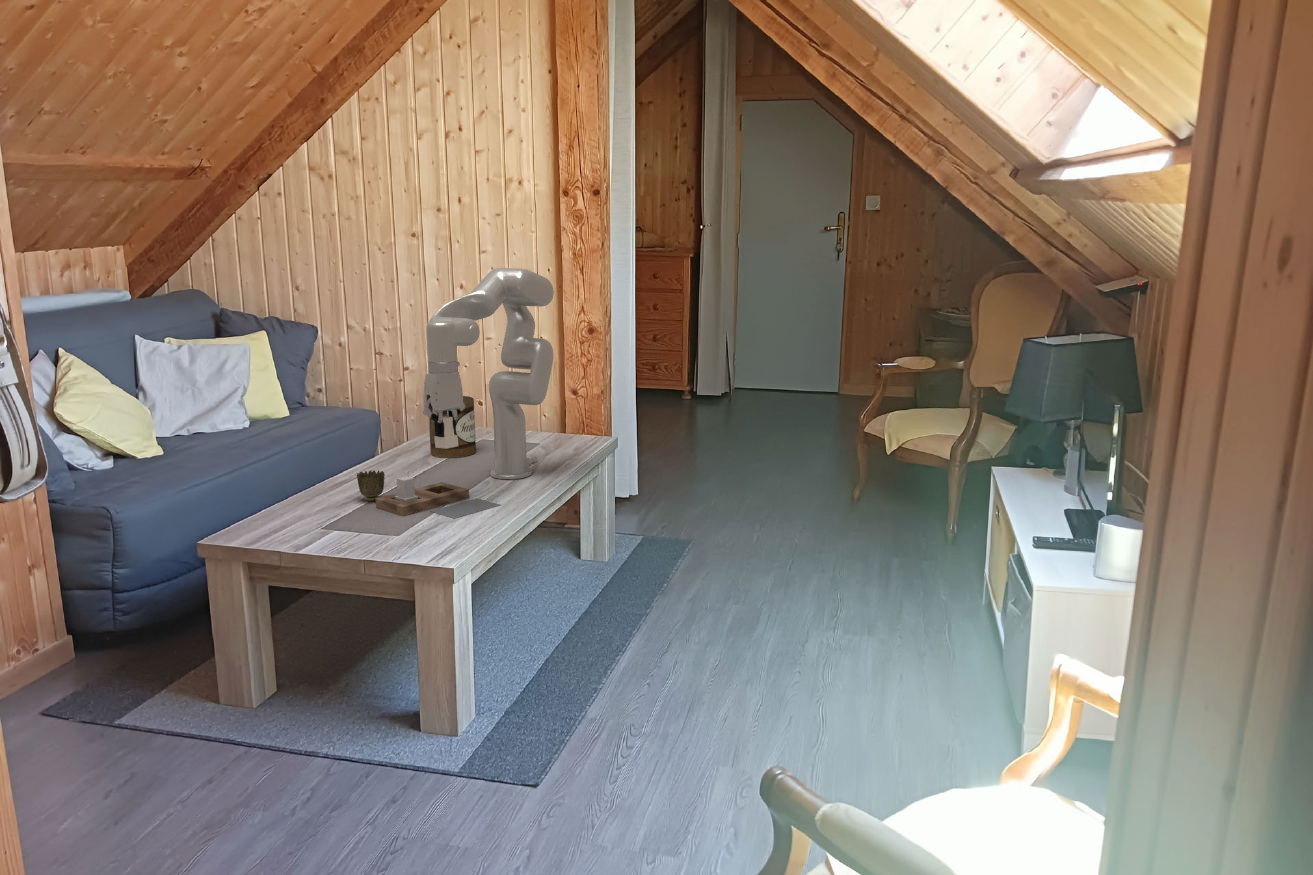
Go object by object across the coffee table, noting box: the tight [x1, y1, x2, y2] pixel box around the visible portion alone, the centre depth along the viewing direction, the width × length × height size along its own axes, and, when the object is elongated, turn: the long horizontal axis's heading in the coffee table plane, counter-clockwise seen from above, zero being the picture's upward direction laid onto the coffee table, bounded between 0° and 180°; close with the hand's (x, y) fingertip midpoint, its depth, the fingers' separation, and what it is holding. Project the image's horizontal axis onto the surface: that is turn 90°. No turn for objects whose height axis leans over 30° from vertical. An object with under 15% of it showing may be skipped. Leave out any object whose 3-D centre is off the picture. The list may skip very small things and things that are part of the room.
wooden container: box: [428, 395, 477, 459], centre depth 327 cm, size 15×15×22 cm
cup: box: [356, 469, 386, 502], centre depth 273 cm, size 8×7×8 cm
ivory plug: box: [434, 416, 458, 449], centre depth 267 cm, size 4×5×8 cm
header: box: [375, 481, 470, 517], centre depth 270 cm, size 22×12×3 cm, turn 140°
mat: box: [430, 497, 501, 520], centre depth 266 cm, size 16×10×1 cm, turn 140°
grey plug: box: [395, 475, 418, 503], centre depth 266 cm, size 4×5×8 cm
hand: (445, 434), depth 267 cm, fingers closed on ivory plug, 3 cm apart
